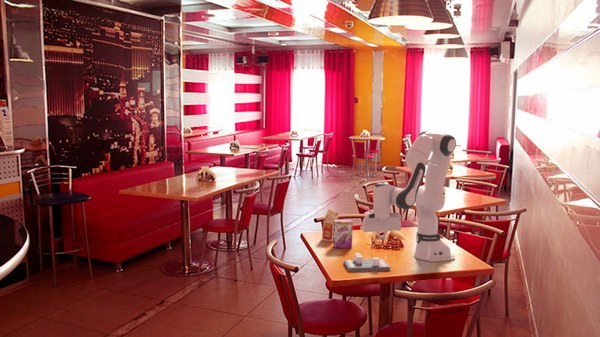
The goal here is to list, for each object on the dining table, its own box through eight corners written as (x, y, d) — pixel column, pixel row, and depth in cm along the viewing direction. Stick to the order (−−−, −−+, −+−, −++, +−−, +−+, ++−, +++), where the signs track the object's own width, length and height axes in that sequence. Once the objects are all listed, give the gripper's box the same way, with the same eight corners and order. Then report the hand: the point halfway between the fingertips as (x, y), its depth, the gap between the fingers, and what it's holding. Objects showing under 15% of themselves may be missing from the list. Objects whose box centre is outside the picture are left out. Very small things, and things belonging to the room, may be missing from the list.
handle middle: (361, 262, 284) (361, 255, 283) (362, 263, 281) (362, 256, 281) (356, 262, 283) (356, 255, 283) (356, 263, 281) (357, 256, 281)
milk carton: (321, 239, 338) (321, 209, 336) (329, 236, 346) (329, 206, 343) (333, 242, 333) (334, 210, 331) (341, 238, 341) (341, 208, 338)
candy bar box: (333, 248, 319) (333, 221, 317) (333, 245, 324) (334, 219, 322) (352, 248, 318) (352, 222, 316) (352, 246, 323) (352, 220, 321)
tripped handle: (378, 264, 280) (378, 257, 280) (379, 265, 278) (379, 258, 277) (372, 264, 280) (372, 257, 279) (373, 265, 277) (373, 259, 277)
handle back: (359, 259, 288) (359, 253, 288) (360, 260, 286) (360, 254, 285) (354, 259, 288) (354, 253, 287) (355, 261, 285) (355, 254, 285)
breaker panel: (383, 262, 291) (383, 258, 291) (390, 270, 277) (390, 266, 277) (343, 263, 289) (343, 259, 289) (348, 271, 275) (348, 267, 275)
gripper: (399, 211, 280) (399, 236, 282) (361, 212, 278) (361, 238, 280) (402, 213, 274) (402, 239, 275) (363, 215, 272) (364, 241, 274)
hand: (381, 239), depth 278 cm, fingers closed
